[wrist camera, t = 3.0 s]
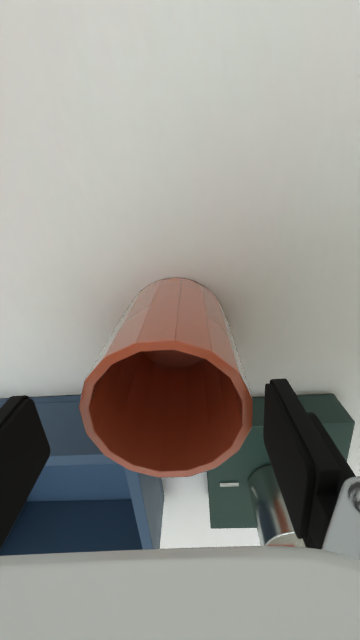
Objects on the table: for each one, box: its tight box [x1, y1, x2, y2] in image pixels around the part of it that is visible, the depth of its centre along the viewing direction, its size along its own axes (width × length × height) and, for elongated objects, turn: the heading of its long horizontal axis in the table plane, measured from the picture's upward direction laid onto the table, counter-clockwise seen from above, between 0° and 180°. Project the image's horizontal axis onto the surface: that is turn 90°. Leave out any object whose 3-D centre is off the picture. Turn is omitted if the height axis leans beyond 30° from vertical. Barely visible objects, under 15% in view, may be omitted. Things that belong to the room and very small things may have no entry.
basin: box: [0, 395, 164, 556], centre depth 21 cm, size 14×12×6 cm
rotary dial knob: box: [248, 464, 305, 547], centre depth 18 cm, size 4×4×5 cm
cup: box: [79, 278, 253, 478], centre depth 15 cm, size 7×7×9 cm
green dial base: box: [207, 394, 355, 528], centre depth 22 cm, size 10×11×3 cm
